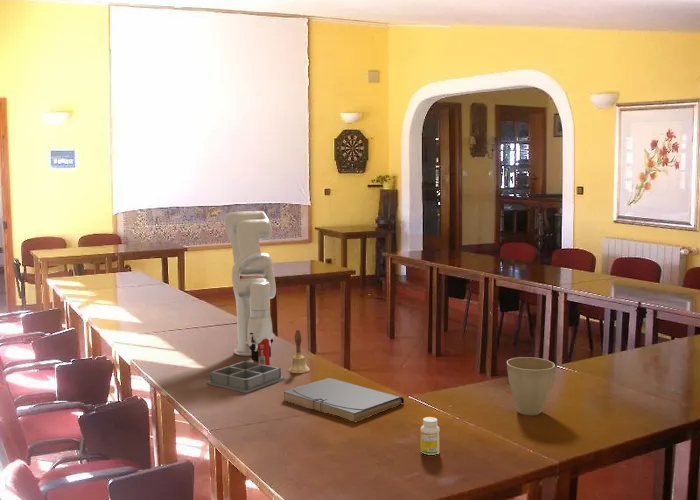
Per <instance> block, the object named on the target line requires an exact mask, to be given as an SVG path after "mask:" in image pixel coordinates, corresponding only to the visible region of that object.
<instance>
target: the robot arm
mask: <svg viewBox="0 0 700 500" xmlns="http://www.w3.org/2000/svg"><path fill="white" fill-rule="evenodd" d="M224 229H225V233H226V235H227V237H228V239H229V242H230V245H231V247H232V248H231V250H232V257H233V264H234V265H233V267H232V271H231V281H232V290H233V293H234V299H235V306H236V322H237V323H236V326H237V328H236V330H237V331H236V332H237V348H234V354H235V355H238V356H244V357H250V356H251V361H252V362H253V361H258V360H259V355H258V351H257V349H258V344H259V343H261V341H262V340H263V339H264V338H267V339H268V340H269V358H271V357H272V351H271V350H272V348H271V347H272V346H273V342H274V339H275V337H276V334H275V333H274V332H273V322H272V317H271V314H270V313H271V308H270V304H271V303H270V300H272V299H274V298H275V296H276V294H277V286H276V285H277V284H276V279H275V278H276V277H275V270H274V264H273V259H272V257H271V255H270V254H269V253H267V252H262V250H261V245H260V240H269V239H271V237H272V236H273V227H272V224H271V221H270V219H269V218H268V215H267V214H266V213H265V211H263V210H248V211H245V210H244V211H232V212H229V213H227V214H226V215H225V216H224ZM250 276H251V277H250ZM253 276H256V277H253ZM258 276H259V277H258ZM240 277H243V278H240ZM254 341H255V343H254ZM254 344H255V347H254Z"/></svg>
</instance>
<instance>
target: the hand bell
mask: <svg viewBox="0 0 700 500" xmlns="http://www.w3.org/2000/svg"><path fill="white" fill-rule="evenodd" d="M294 343H295V345H296V350H295V351H296V354H295V355H294V356H293V357H292V363H291V366H290V367H289V368H288V370H287V371H288V372H289V373H291V374H304V373H305V374H306V373H308V372H310V370H311V369H310V367H308V364H307V362H306V357H305V355H303V354H302V353H301V344H302V334H301V330H300V329H296V330H295V334H294Z"/></svg>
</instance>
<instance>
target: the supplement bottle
mask: <svg viewBox="0 0 700 500" xmlns="http://www.w3.org/2000/svg"><path fill="white" fill-rule="evenodd" d="M440 431H441V429H440V426H438V419H437V418H436V417H432V416H426V417H423V418H422V425H421V426H420V438H419V441H420V444H419V445H420V453H421V452H422V453H424V454H428V455H435V454H438V455H439V454H440V450H441V444H440V443H441V442H440V441H441V440H440V439H441V436H440V435H441V432H440ZM422 453H421V454H422ZM435 456H436V455H435Z"/></svg>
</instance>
